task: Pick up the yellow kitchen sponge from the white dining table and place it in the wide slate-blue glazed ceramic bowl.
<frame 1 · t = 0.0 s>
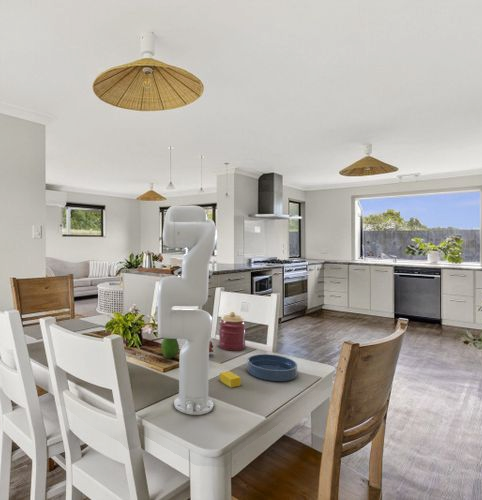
hand: (193, 290, 161), 31 cm above the table, tool pointing down, fingers open, 9 cm apart
dragon fruit: (203, 356, 167), on the table
kitchen canister: (232, 347, 180), on the table
bowl: (271, 372, 147), on the table
avocado: (170, 358, 163), on the table
sponge: (230, 382, 136), on the table
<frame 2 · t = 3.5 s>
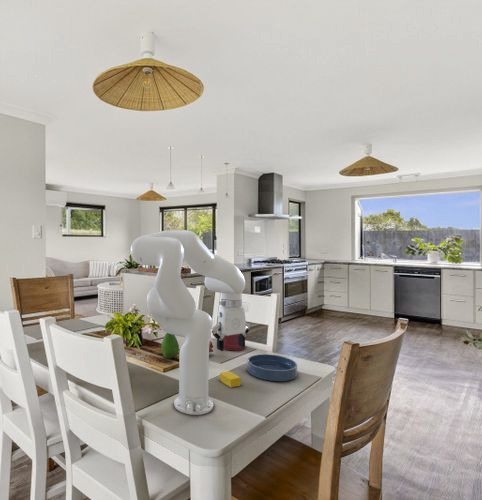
hand: (231, 348, 136), 13 cm above the table, tool pointing down, fingers open, 9 cm apart
nothing on the table moved.
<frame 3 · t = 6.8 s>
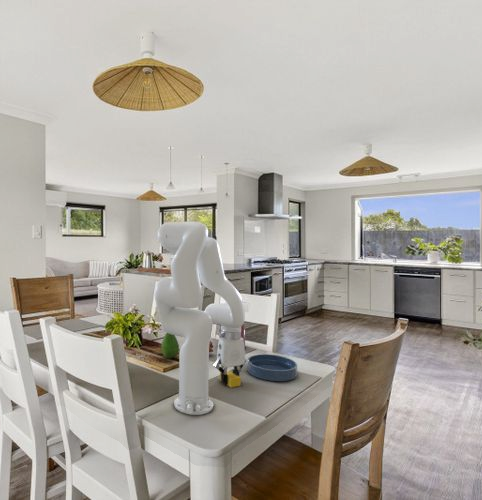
hand: (230, 382, 136), 0 cm above the table, tool pointing down, fingers closed on sponge, 4 cm apart
sponge: (230, 383, 136), on the table, touching gripper
everything else where it was.
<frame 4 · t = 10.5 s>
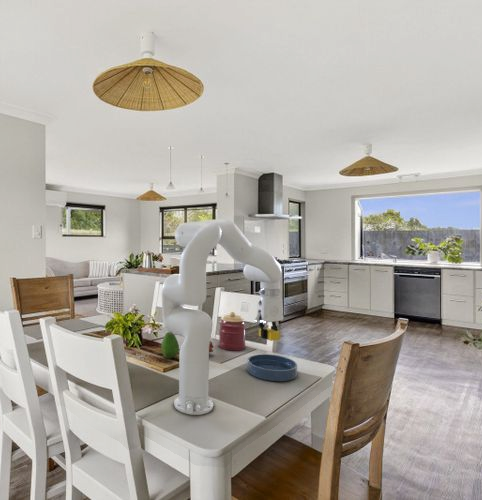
hand: (269, 337, 145), 15 cm above the table, tool pointing down, fingers closed on sponge, 4 cm apart
sponge: (269, 337, 145), point 15 cm above the table, touching gripper
everything else where it was.
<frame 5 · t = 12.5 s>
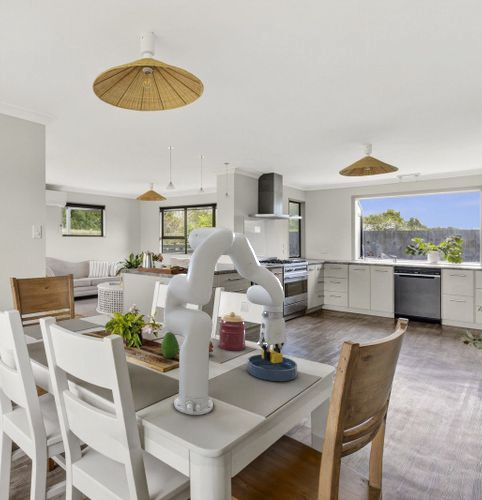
hand: (272, 359, 146), 6 cm above the table, tool pointing down, fingers closed on sponge, 4 cm apart
sponge: (271, 359, 146), point 5 cm above the table, touching gripper
everything else where it was.
when the fingers open (1 cm above the table, at t = 14.4 s): sponge stays where it is, resting on bowl.
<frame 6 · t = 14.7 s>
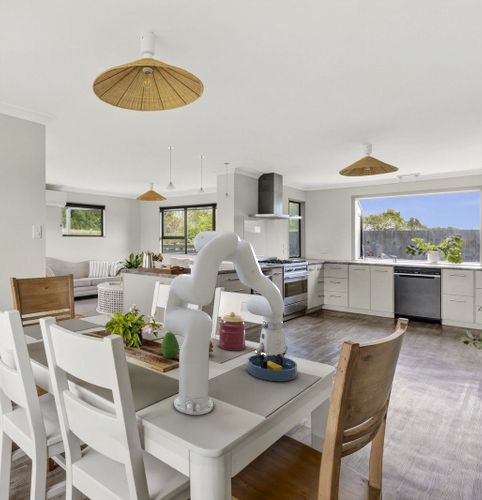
hand: (271, 368, 146), 2 cm above the table, tool pointing down, fingers open, 7 cm apart
sponge: (271, 371, 147), resting on bowl
everything else where it was.
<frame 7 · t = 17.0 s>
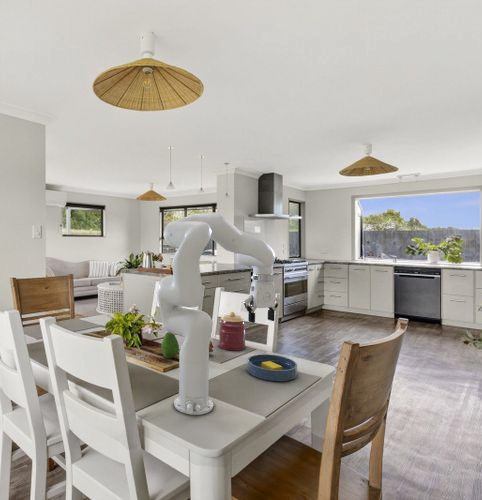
hand: (261, 321, 144), 22 cm above the table, tool pointing down, fingers open, 9 cm apart
nothing on the table moved.
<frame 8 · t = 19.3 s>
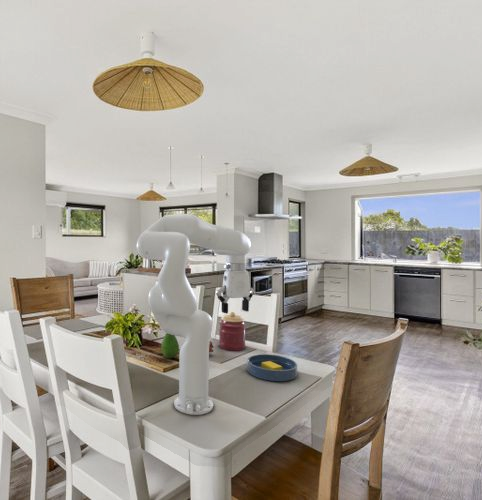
hand: (235, 311, 139), 26 cm above the table, tool pointing down, fingers open, 9 cm apart
nothing on the table moved.
at the end: sponge inside the target area in the bowl (0.0 cm from its centre), point 0.5 cm above the bowl's base; the gripper is holding nothing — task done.
